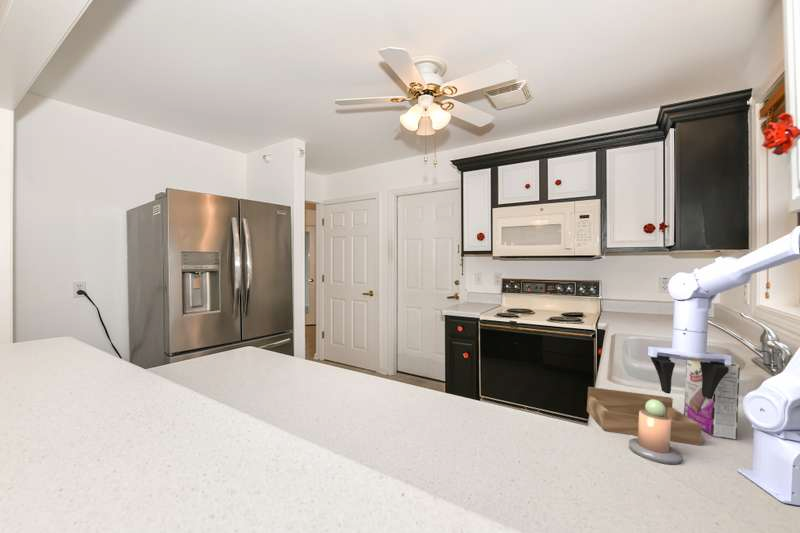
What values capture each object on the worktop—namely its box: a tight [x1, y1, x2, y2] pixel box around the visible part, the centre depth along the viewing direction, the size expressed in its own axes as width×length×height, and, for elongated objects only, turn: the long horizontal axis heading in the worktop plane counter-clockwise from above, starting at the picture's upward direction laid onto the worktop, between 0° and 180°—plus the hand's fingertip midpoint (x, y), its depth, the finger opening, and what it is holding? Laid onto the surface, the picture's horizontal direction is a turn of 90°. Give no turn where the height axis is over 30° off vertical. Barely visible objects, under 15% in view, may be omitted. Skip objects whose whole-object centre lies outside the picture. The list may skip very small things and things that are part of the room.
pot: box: [637, 399, 671, 453], centre depth 68 cm, size 5×5×9 cm
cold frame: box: [586, 386, 703, 447], centre depth 80 cm, size 12×18×6 cm, turn 78°
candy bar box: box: [683, 356, 741, 440], centre depth 83 cm, size 11×5×16 cm, turn 168°
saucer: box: [628, 437, 682, 466], centre depth 67 cm, size 8×8×1 cm
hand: (686, 394), depth 75 cm, fingers open, 7 cm apart
